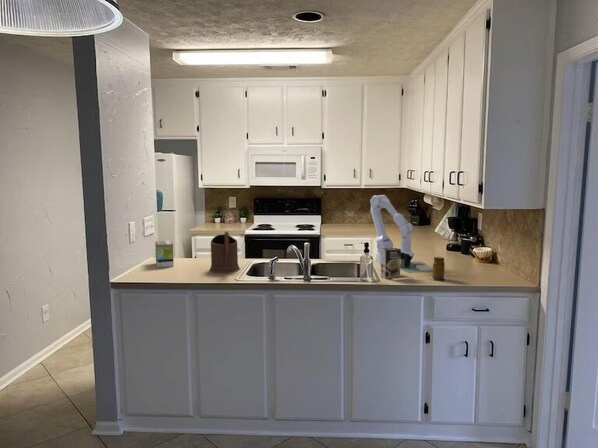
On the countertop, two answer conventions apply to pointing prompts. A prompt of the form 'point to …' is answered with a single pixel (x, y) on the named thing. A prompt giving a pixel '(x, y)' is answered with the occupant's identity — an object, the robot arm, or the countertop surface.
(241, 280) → the countertop surface
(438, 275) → the condiment
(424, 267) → the board
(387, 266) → the coffee box
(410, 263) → the grey knob block
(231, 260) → the brown tall hollow container
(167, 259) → the tea box
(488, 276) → the countertop surface
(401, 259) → the plug
